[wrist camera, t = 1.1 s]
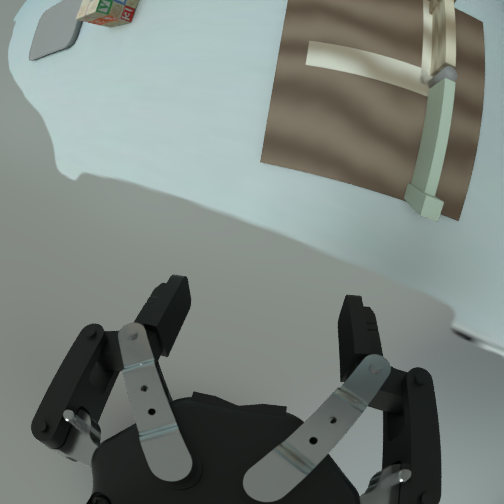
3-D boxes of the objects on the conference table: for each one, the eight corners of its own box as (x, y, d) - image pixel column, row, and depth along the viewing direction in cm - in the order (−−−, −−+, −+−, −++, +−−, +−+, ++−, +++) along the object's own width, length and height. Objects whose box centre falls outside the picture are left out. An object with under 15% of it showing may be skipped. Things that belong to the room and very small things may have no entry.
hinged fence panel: (427, 76, 22) (448, 57, 15) (441, 82, 22) (466, 66, 14) (403, 198, 29) (420, 215, 22) (418, 203, 28) (437, 221, 21)
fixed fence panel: (428, 3, 17) (443, -26, 10) (442, 9, 16) (459, -19, 9) (426, 74, 22) (447, 55, 15) (441, 80, 22) (465, 63, 14)
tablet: (47, 14, 35) (41, 13, 33) (97, -12, 29) (90, -14, 27) (33, 62, 42) (27, 62, 40) (77, 47, 37) (69, 46, 35)
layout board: (294, -26, 22) (293, -30, 21) (480, 24, 15) (482, 22, 14) (262, 161, 35) (260, 162, 34) (455, 218, 28) (458, 221, 27)
